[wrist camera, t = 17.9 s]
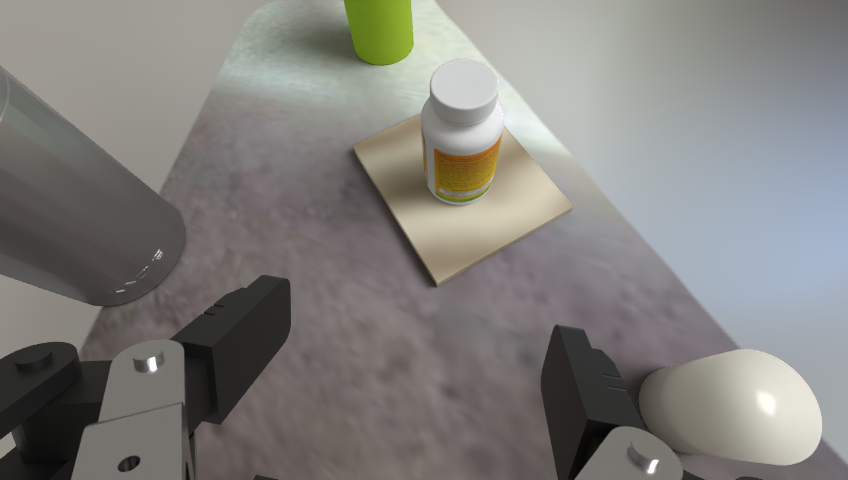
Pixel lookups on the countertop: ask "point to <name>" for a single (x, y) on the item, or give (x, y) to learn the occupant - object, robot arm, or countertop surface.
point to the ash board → (459, 224)
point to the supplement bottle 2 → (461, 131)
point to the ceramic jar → (733, 408)
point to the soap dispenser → (380, 29)
